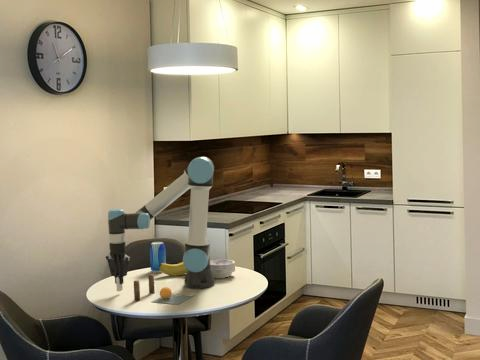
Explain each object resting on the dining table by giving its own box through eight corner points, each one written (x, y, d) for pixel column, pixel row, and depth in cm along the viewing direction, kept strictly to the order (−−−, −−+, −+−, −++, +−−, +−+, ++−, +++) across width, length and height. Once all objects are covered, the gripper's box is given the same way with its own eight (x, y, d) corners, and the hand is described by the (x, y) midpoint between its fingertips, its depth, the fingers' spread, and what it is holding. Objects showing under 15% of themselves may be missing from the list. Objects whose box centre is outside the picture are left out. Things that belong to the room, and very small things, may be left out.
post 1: (141, 299, 278) (140, 280, 277) (138, 301, 275) (137, 282, 275) (136, 299, 279) (135, 280, 278) (133, 300, 276) (132, 281, 276)
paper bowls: (227, 271, 328) (227, 257, 327) (240, 277, 314) (240, 262, 314) (202, 275, 321) (201, 261, 320) (214, 281, 307) (213, 266, 307)
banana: (160, 278, 318) (158, 240, 317) (158, 275, 324) (156, 239, 322) (201, 274, 324) (200, 237, 323) (199, 271, 330) (198, 235, 328)
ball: (166, 283, 280) (161, 292, 282) (160, 286, 275) (155, 295, 277) (175, 290, 278) (170, 299, 280) (169, 293, 273) (164, 302, 275)
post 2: (155, 292, 289) (154, 274, 288) (152, 294, 287) (151, 275, 286) (151, 292, 290) (150, 274, 290) (148, 293, 288) (147, 275, 287)
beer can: (163, 273, 329) (162, 244, 328) (148, 273, 331) (147, 244, 330) (168, 269, 337) (166, 241, 336) (153, 269, 339) (152, 241, 338)
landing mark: (193, 296, 280) (193, 296, 280) (178, 304, 268) (178, 304, 268) (167, 294, 286) (167, 293, 286) (151, 302, 273) (151, 301, 273)
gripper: (133, 241, 287) (135, 289, 289) (110, 239, 292) (113, 287, 294) (124, 244, 280) (126, 293, 282) (101, 242, 286) (103, 291, 287)
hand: (119, 290), depth 288 cm, fingers closed
